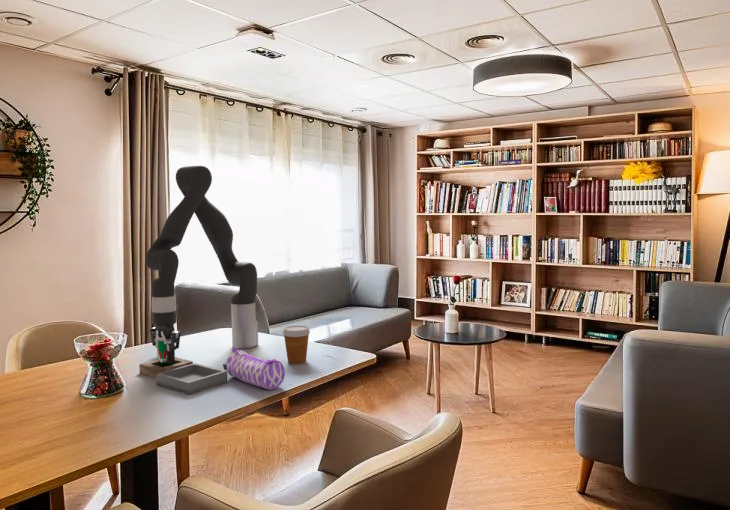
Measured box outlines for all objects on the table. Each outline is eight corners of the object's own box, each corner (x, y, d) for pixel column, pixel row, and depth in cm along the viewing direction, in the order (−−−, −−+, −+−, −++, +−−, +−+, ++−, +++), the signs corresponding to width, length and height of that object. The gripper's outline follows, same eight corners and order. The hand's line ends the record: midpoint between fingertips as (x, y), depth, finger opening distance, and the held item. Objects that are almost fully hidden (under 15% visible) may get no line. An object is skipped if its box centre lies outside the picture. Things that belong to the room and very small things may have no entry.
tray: (195, 373, 175) (195, 363, 175) (227, 382, 166) (227, 371, 165) (156, 385, 164) (156, 373, 164) (189, 394, 154) (188, 382, 154)
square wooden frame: (171, 364, 186) (171, 356, 186) (193, 370, 179) (192, 361, 179) (139, 373, 176) (139, 364, 176) (161, 379, 169) (160, 370, 169)
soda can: (177, 369, 180) (175, 334, 179) (170, 374, 175) (168, 338, 174) (162, 369, 181) (161, 334, 180) (155, 373, 175) (154, 337, 175)
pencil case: (222, 379, 170) (221, 349, 169) (247, 372, 176) (246, 344, 176) (263, 394, 154) (262, 362, 154) (289, 386, 161) (288, 356, 160)
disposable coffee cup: (278, 364, 185) (277, 329, 184) (292, 357, 194) (291, 324, 193) (302, 366, 182) (301, 331, 181) (315, 359, 190) (314, 326, 190)
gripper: (187, 310, 175) (189, 361, 176) (161, 306, 183) (163, 354, 185) (166, 313, 169) (168, 366, 170) (141, 309, 177) (143, 359, 179)
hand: (166, 360), depth 177 cm, fingers closed on soda can, 5 cm apart
